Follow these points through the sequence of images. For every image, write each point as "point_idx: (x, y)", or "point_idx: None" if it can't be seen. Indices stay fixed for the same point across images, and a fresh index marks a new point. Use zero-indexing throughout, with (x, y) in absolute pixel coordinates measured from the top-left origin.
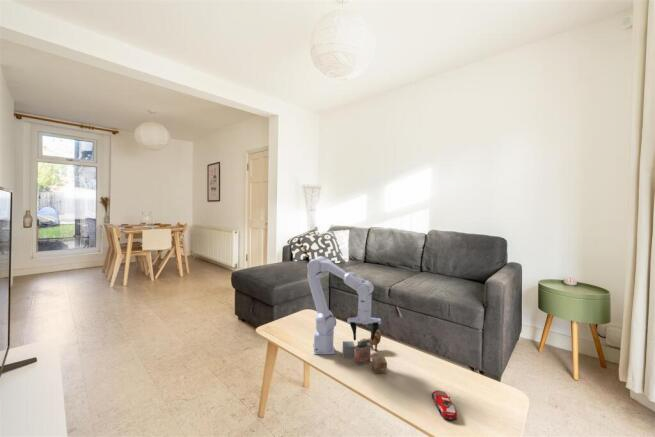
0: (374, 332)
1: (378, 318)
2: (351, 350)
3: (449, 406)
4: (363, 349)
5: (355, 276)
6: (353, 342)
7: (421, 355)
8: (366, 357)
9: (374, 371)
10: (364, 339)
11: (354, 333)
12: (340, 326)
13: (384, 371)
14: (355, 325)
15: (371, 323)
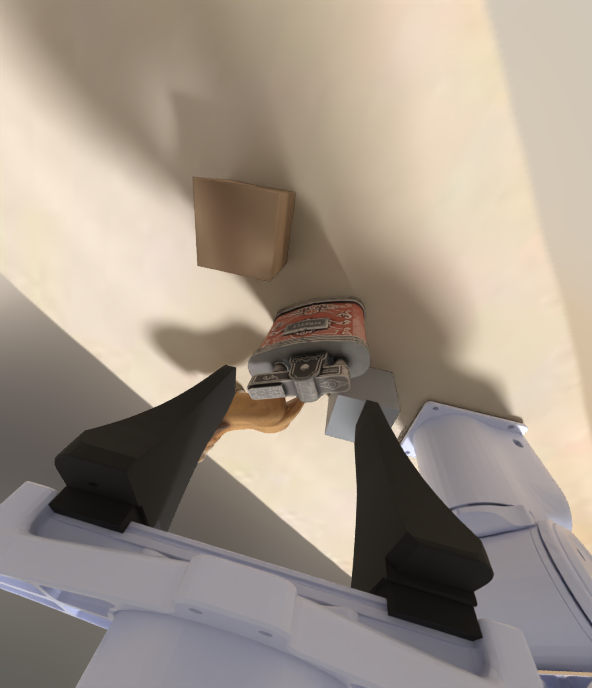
0: (175, 406)
1: (5, 584)
2: (356, 385)
3: None
4: (314, 336)
5: None
6: (327, 427)
7: (49, 304)
8: (297, 316)
9: (292, 198)
10: (268, 424)
11: (396, 453)
12: (311, 521)
13: (233, 181)
14: (400, 564)
15: (151, 528)
